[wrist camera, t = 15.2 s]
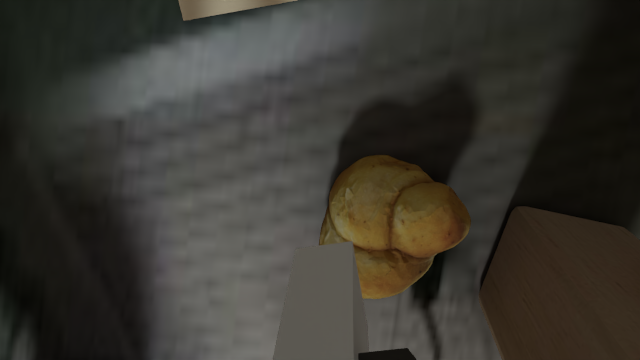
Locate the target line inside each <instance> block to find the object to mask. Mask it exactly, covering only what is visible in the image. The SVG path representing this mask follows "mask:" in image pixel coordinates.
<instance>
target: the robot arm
mask: <svg viewBox="0 0 640 360" xmlns="http://www.w3.org/2000/svg"><path fill="white" fill-rule="evenodd" d="M273 360H416V358H415V357H414V356H413V355H412V353H411V352H410V351H409V349H408V348H404V349H394V350H384V351H375V352H369V343H368V326H367V320H366V315H365V309H364V303H363V298H362V292H361V287H360V281H359V275H358V270H357V264H356V259H355V253H354V247H353V242H352V241H350V242H342V243H335V244H327V245H320V246H312V247H305V248H297V249H296V251H295V255H294V260H293V265H292V270H291V274H290V279H289V284H288V289H287V294H286V298H285V303H284V308H283V313H282V317H281V322H280V327H279V332H278V337H277V341H276V346H275V351H274V356H273Z"/></svg>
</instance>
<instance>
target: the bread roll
mask: <svg viewBox="0 0 640 360" xmlns="http://www.w3.org/2000/svg"><path fill="white" fill-rule="evenodd" d="M470 224H471V219H470V216H469V213H468V211H467V209H466V207H465V206H464V204H463V203H462V202H461V200H460V199H459V198H458V197H457V195H456V193H455V192H454V190H453V189H452V188H450V187H448V186H447V185H445V184H443V183H439V182H434V181H433V180H432V179H431V178H430V176H428V175H427V174H426V173H425V172H424V171H423V170H422V169H421V168H420V167H419V166H418V165H415V164H409V163H407V162H404V161H400V160H397V159H395V158H393V157H390V156H389V155H372V156H366V157H364V158H362V159H359V160H358V161H356V162H355V163H353V164H352V165H351V166H349V167H348V168H346V169H345V170H344V171H343V172H342V173H341V174H340V175H339V176H338V178H337V179H336V181H335V183H334V185H333V187H332V189H331V191H330V195H329V205H328V207H327V210H326V214H325V218H324V220H323V223H322V227H321V233H320V240H319V246H320V245H327V244H335V243H342V242H350V241H352V242H353V247H354V253H355V259H356V264H357V270H358V275H359V281H360V287H361V292H362V298H373V299H380V298H384V297H389V296H393V295H396V294H399V293H401V292H403V291H404V290H406V289H407V288H408V287H409V286H410V285H412V284H413V283H415V282H416V281H417V280H418V279H419V278H421V277H422V276H423V275H424V274H425V273H426V272H427V271H428V269H429V268H430V266H431V264H432V261H433V258H434V256H435V255H436V254H437V253H439V252H442V251H445V250H447V249H450V248H452V247H454V246H456V245H457V244H458V243H459V242H460V241H462V240H463V239H464V238H465V237H466V235H467V233H468V232H469V228H470Z"/></svg>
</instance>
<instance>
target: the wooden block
mask: <svg viewBox="0 0 640 360" xmlns="http://www.w3.org/2000/svg"><path fill="white" fill-rule="evenodd" d="M479 303H480V306H481V308H482V311H483V313H484V316H485V318H486V320H487V323H488V325H489V328H490V330H491V333H492V335H493V338H494V340H495V343H496V345H497V348H498V350H499V353H500V355H501V358H502V360H640V240H639V239H638V238H636V237H635V236H634V235H633V234H632V233H631V232H629V231H628V230H627V229H625V228H624V227H621V226H616V225H611V224H607V223H602V222H597V221H593V220H588V219H583V218H578V217H574V216H569V215H564V214H560V213H555V212H550V211H546V210H541V209H536V208H531V207H527V206H518V207H515V208H514V209H513V210H512V212H511V214H510V216H509V219H508V221H507V224H506V227H505V229H504V232H503V234H502V237H501V239H500V242H499V244H498V247H497V249H496V252H495V254H494V257H493V259H492V262H491V264H490V267H489V269H488V272H487V275H486V277H485V280H484V282H483V285H482V287H481V290H480V292H479Z"/></svg>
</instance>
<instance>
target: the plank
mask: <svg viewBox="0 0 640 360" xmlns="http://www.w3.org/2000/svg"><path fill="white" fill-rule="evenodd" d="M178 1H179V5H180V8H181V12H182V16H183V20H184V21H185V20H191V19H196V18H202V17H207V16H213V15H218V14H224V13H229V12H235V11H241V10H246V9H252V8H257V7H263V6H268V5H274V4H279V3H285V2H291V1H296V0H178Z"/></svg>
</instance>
